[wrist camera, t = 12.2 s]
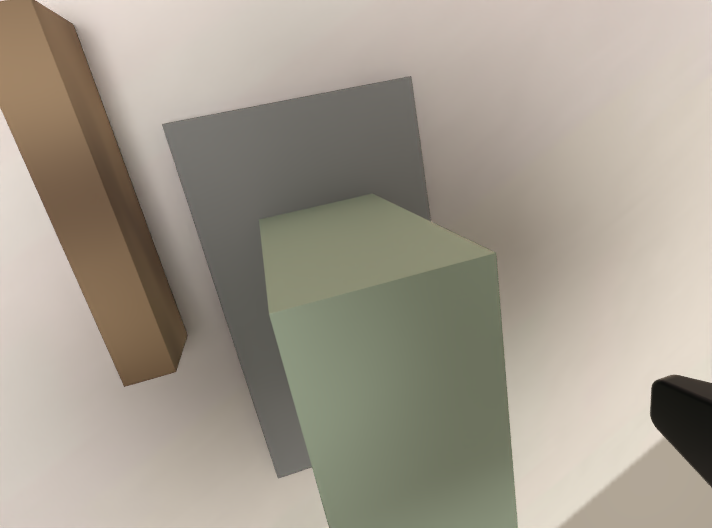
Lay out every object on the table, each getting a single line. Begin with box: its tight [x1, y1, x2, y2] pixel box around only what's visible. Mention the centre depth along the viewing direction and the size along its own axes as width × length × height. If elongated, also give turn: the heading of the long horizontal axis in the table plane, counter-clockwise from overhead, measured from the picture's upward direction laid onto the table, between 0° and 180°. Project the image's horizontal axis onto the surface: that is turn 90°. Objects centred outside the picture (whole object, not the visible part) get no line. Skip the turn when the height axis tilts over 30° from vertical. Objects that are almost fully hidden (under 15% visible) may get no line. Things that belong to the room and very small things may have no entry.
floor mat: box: [162, 76, 431, 478], centre depth 16 cm, size 14×8×1 cm, turn 11°
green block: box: [259, 194, 518, 528], centre depth 12 cm, size 4×7×8 cm, turn 11°
